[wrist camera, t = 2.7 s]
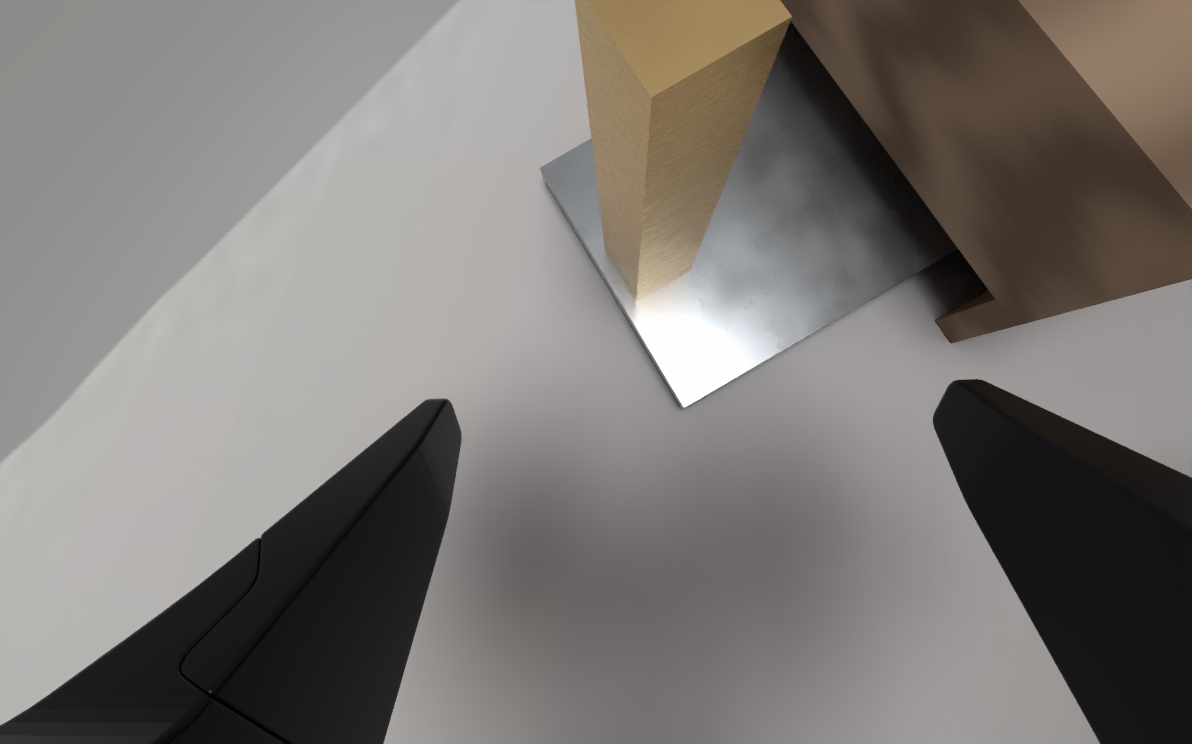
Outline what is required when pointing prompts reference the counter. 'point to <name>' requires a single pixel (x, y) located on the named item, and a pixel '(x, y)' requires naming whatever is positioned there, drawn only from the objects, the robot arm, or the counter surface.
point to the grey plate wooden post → (729, 186)
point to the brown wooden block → (1030, 137)
